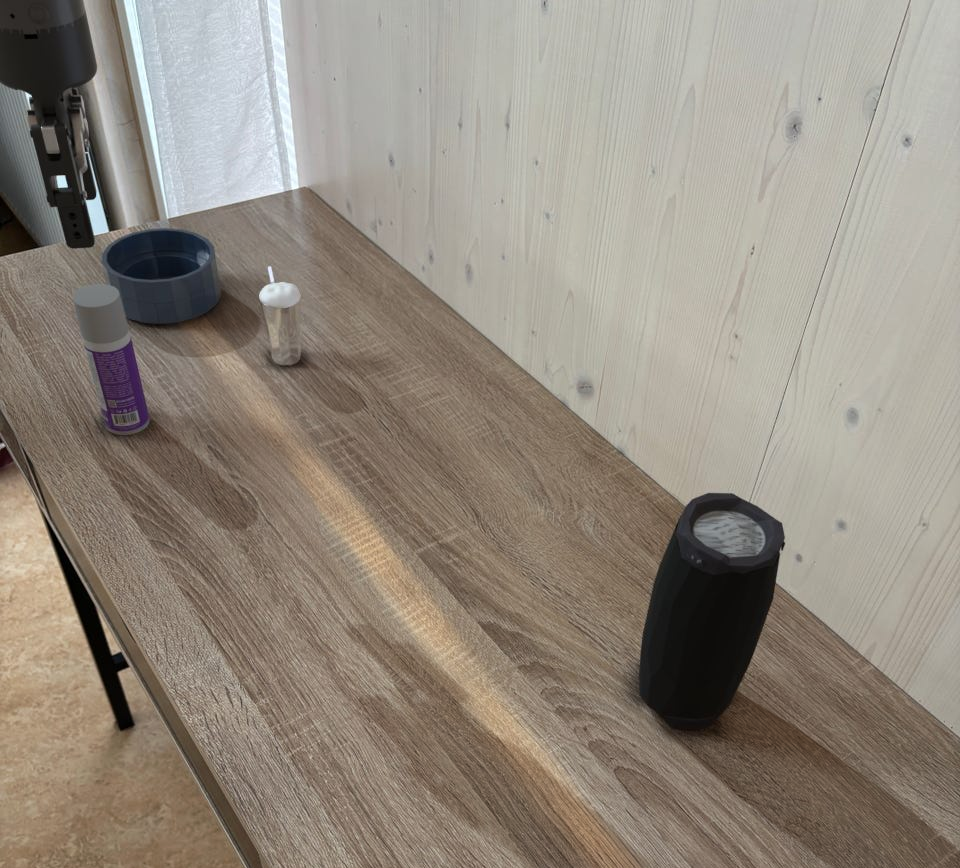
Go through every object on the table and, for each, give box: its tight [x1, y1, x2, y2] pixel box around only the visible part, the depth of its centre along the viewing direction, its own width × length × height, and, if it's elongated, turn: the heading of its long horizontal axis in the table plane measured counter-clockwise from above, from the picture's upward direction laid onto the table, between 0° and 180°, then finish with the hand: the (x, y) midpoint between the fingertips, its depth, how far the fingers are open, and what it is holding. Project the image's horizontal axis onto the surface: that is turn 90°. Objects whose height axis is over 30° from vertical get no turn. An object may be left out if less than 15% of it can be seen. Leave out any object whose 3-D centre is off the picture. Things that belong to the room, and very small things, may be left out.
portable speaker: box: [638, 492, 786, 732], centre depth 83 cm, size 9×9×20 cm
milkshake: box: [258, 265, 302, 367], centre depth 119 cm, size 4×5×10 cm
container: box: [71, 283, 150, 436], centre depth 108 cm, size 5×5×15 cm
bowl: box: [101, 227, 222, 325], centre depth 128 cm, size 13×13×6 cm
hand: (83, 221), depth 89 cm, fingers open, 8 cm apart
